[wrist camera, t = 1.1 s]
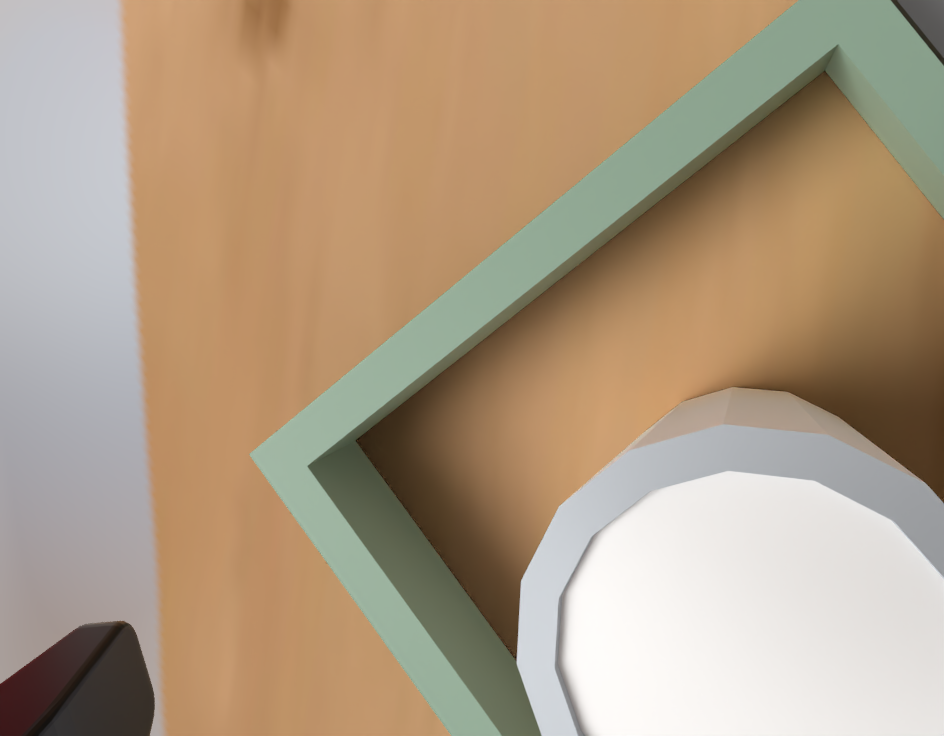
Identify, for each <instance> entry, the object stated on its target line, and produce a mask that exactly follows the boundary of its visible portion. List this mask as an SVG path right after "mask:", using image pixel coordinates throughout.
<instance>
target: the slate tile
mask: <svg viewBox="0 0 944 736" xmlns="http://www.w3.org/2000/svg"><path fill="white" fill-rule="evenodd" d="M891 1H892V3H893V4H894V5H895V6H896V8H897V9H898V10H899V11H900V12H901V14H902V15H903V16H904V17H905V19H906V20H907V21H908V22H909V24H910V25H911V26H912V27H913V29H914V30H915V31H916V32H917V33H918V35H919V36H920V37H921V38H922V40H923V41H924V42H925V43H926V45H927V46H928V47H929V48H930V49H931V51H932V52H933V53H934V54H935V56H936V57H937V58H938V59H939V61H940V62H941V63H942V64H943V66H944V0H891Z"/></svg>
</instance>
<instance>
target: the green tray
mask: <svg viewBox="0 0 944 736" xmlns="http://www.w3.org/2000/svg"><path fill="white" fill-rule="evenodd" d="M824 71H826V73H827V74H828V75H829V76H830V78H831V79H832V80H833V81H834V83H835V84H836V85H837V86H838V88H839V89H840V90H841V91H842V93H843V94H844V95H845V96H846V98H847V99H848V100H849V101H850V103H851V104H852V105H853V106H854V108H855V109H856V110H857V111H858V113H859V114H860V115H861V116H862V118H863V119H864V120H865V121H866V123H867V124H868V125H869V126H870V128H871V129H872V130H873V131H874V133H875V134H876V135H877V136H878V138H879V139H880V140H881V141H882V143H883V144H884V145H885V147H886V148H887V149H888V150H889V152H890V153H891V154H892V155H893V157H894V158H895V159H896V160H897V162H898V163H899V164H900V165H901V167H902V168H903V169H904V170H905V172H906V173H907V174H908V175H909V177H910V178H911V179H912V180H913V182H914V183H915V184H916V185H917V187H918V188H919V189H920V190H921V192H922V193H923V194H924V195H925V197H926V198H927V199H928V200H929V202H930V203H931V204H932V205H933V207H934V208H935V209H936V210H937V212H938V213H939V214H940V215H941V217H942V218H943V219H944V66H943V64H942V63H941V62H940V61H939V59H938V58H937V57H936V56H935V54H934V53H933V52H932V51H931V49H930V48H929V47H928V46H927V45H926V43H925V42H924V41H923V40H922V38H921V37H920V36H919V35H918V33H917V32H916V31H915V30H914V29H913V27H912V26H911V25H910V24H909V22H908V21H907V20H906V19H905V17H904V16H903V15H902V14H901V12H900V11H899V10H898V9H897V8H896V6H895V5H894V4H893V3H892V1H891V0H799V1H797V2H796V3H795V4H794V5H793V6H791V7H790V8H789V9H788V10H786V11H785V12H784V13H783V14H782V15H780V16H779V17H778V18H777V19H776V20H774V21H773V22H772V23H771V24H770V25H768V26H767V27H766V28H765V29H763V30H762V31H761V32H760V33H759V34H757V35H756V36H755V37H754V38H753V39H751V40H750V41H749V42H748V43H747V44H745V45H744V46H743V47H742V48H740V49H739V50H738V51H737V52H736V53H734V54H733V55H732V56H731V57H730V58H728V59H727V60H726V61H725V62H724V63H722V64H721V65H720V66H719V67H717V68H716V69H715V70H714V71H713V72H711V73H710V74H709V75H708V76H707V77H705V78H704V79H703V80H702V81H701V82H699V83H698V84H697V85H696V86H694V87H693V88H692V89H691V90H690V91H688V92H687V93H686V94H685V95H684V96H682V97H681V98H680V99H679V100H678V101H676V102H675V103H674V104H673V105H671V106H670V107H669V108H668V109H667V110H665V111H664V112H663V113H662V114H661V115H659V116H658V117H657V118H656V119H655V120H653V121H652V122H651V123H650V124H648V125H647V126H646V127H645V128H644V129H642V130H641V131H640V132H639V133H638V134H636V135H635V136H634V137H633V138H632V139H630V140H629V141H628V142H627V143H625V144H624V145H623V146H622V147H621V148H619V149H618V150H617V151H616V152H615V153H613V154H612V155H611V156H610V157H609V158H607V159H606V160H605V161H604V162H602V163H601V164H600V165H599V166H598V167H596V168H595V169H594V170H593V171H592V172H590V173H589V174H588V175H587V176H586V177H584V178H583V179H582V180H581V181H579V182H578V183H577V184H576V185H575V186H573V187H572V188H571V189H570V190H569V191H567V192H566V193H565V194H564V195H562V196H561V197H560V198H559V199H558V200H556V201H555V202H554V203H553V204H552V205H550V206H549V207H548V208H547V209H546V210H544V211H543V212H542V213H541V214H539V215H538V216H537V217H536V218H535V219H533V220H532V221H531V222H530V223H529V224H527V225H526V226H525V227H524V228H523V229H521V230H520V231H519V232H518V233H516V234H515V235H514V236H513V237H512V238H510V239H509V240H508V241H507V242H506V243H504V244H503V245H502V246H501V247H500V248H498V249H497V250H496V251H495V252H493V253H492V254H491V255H490V256H489V257H487V258H486V259H485V260H484V261H483V262H481V263H480V264H479V265H478V266H477V267H475V268H474V269H473V270H472V271H470V272H469V273H468V274H467V275H466V276H464V277H463V278H462V279H461V280H460V281H458V282H457V283H456V284H455V285H454V286H452V287H451V288H450V289H449V290H447V291H446V292H445V293H444V294H443V295H441V296H440V297H439V298H438V299H437V300H435V301H434V302H433V303H432V304H431V305H429V306H428V307H427V308H426V309H424V310H423V311H422V312H421V313H420V314H418V315H417V316H416V317H415V318H414V319H412V320H411V321H410V322H409V323H408V324H406V325H405V326H404V327H403V328H401V329H400V330H399V331H398V332H397V333H395V334H394V335H393V336H392V337H391V338H389V339H388V340H387V341H386V342H385V343H383V344H382V345H381V346H380V347H378V348H377V349H376V350H375V351H374V352H372V353H371V354H370V355H369V356H368V357H366V358H365V359H364V360H363V361H362V362H360V363H359V364H358V365H357V366H355V367H354V368H353V369H352V370H351V371H349V372H348V373H347V374H346V375H345V376H343V377H342V378H341V379H340V380H339V381H337V382H336V383H335V384H334V385H332V386H331V387H330V388H329V389H328V390H326V391H325V392H324V393H323V394H322V395H320V396H319V397H318V398H317V399H316V400H314V401H313V402H312V403H311V404H309V405H308V406H307V407H306V408H305V409H303V410H302V411H301V412H300V413H299V414H297V415H296V416H295V417H294V418H292V419H291V420H290V421H289V422H288V423H286V424H285V425H284V426H283V427H282V428H280V429H279V430H278V431H277V432H276V433H274V434H273V435H272V436H271V437H269V438H268V439H267V440H266V441H265V442H263V443H262V444H261V445H260V446H259V447H257V448H256V449H255V450H254V451H253V452H251V453H250V454H249V455H250V456H251V458H252V459H253V461H254V462H255V463H256V465H257V466H258V467H259V469H260V470H261V472H262V473H263V474H264V476H265V477H266V479H267V480H268V481H269V483H270V484H271V486H272V487H273V488H274V490H275V491H276V492H277V494H278V495H279V497H280V498H281V499H282V501H283V502H284V504H285V505H286V506H287V508H288V509H289V511H290V512H291V513H292V515H293V516H294V518H295V519H296V520H297V522H298V523H299V524H300V526H301V527H302V529H303V530H304V531H305V533H306V534H307V536H308V537H309V538H310V540H311V541H312V543H313V544H314V545H315V547H316V548H317V550H318V551H319V552H320V554H321V555H322V556H323V558H324V559H325V561H326V562H327V563H328V565H329V566H330V568H331V569H332V570H333V572H334V573H335V575H336V576H337V577H338V579H339V580H340V581H341V583H342V584H343V586H344V587H345V588H346V590H347V591H348V593H349V594H350V595H351V597H352V598H353V600H354V601H355V602H356V604H357V605H358V607H359V608H360V609H361V611H362V612H363V613H364V615H365V616H366V618H367V619H368V620H369V622H370V623H371V625H372V626H373V627H374V629H375V630H376V632H377V633H378V634H379V636H380V637H381V638H382V640H383V641H384V643H385V644H386V645H387V647H388V648H389V650H390V651H391V652H392V654H393V655H394V657H395V658H396V659H397V661H398V662H399V664H400V665H401V666H402V668H403V669H404V670H405V672H406V673H407V675H408V676H409V677H410V679H411V680H412V682H413V683H414V684H415V686H416V687H417V689H418V690H419V691H420V693H421V694H422V695H423V697H424V698H425V700H426V701H427V702H428V704H429V705H430V707H431V708H432V709H433V711H434V712H435V714H436V715H437V716H438V718H439V719H440V721H441V722H442V723H443V725H444V726H445V727H446V729H447V730H448V732H449V733H450V734H451V736H542V735H541V732H540V730H539V727H538V724H537V721H536V718H535V715H534V712H533V710H532V707H531V704H530V701H529V698H528V695H527V692H526V690H525V687H524V684H523V681H522V678H521V675H520V672H519V670H518V667H517V662H516V660H515V659H514V658H513V656H512V655H511V653H510V652H509V651H508V649H507V648H506V647H505V645H504V644H503V642H502V641H501V640H500V638H499V637H498V636H497V634H496V633H495V631H494V630H493V629H492V627H491V626H490V625H489V623H488V622H487V621H486V619H485V618H484V616H483V615H482V614H481V612H480V611H479V610H478V608H477V607H476V605H475V604H474V603H473V601H472V600H471V599H470V597H469V596H468V594H467V593H466V592H465V590H464V589H463V588H462V586H461V585H460V584H459V582H458V581H457V579H456V578H455V577H454V575H453V574H452V573H451V571H450V570H449V568H448V567H447V566H446V564H445V563H444V562H443V560H442V559H441V557H440V556H439V555H438V553H437V552H436V551H435V549H434V548H433V547H432V545H431V544H430V542H429V541H428V540H427V538H426V537H425V536H424V534H423V533H422V531H421V530H420V529H419V527H418V526H417V525H416V523H415V522H414V520H413V519H412V518H411V516H410V515H409V514H408V512H407V511H406V509H405V508H404V507H403V505H402V504H401V503H400V501H399V500H398V499H397V497H396V496H395V494H394V493H393V492H392V490H391V489H390V488H389V486H388V485H387V483H386V482H385V481H384V479H383V478H382V477H381V475H380V474H379V472H378V471H377V470H376V468H375V467H374V466H373V464H372V463H371V462H370V460H369V459H368V457H367V456H366V455H365V453H364V452H363V451H362V449H361V448H360V446H359V445H358V444H357V442H356V440H357V439H358V438H359V437H361V436H362V435H363V434H364V433H366V432H367V431H368V430H370V429H371V428H372V427H373V426H375V425H376V424H377V423H378V422H380V421H381V420H382V419H384V418H385V417H386V416H387V415H389V414H390V413H391V412H392V411H394V410H395V409H396V408H397V407H399V406H400V405H401V404H403V403H404V402H405V401H406V400H408V399H409V398H410V397H411V396H413V395H414V394H415V393H416V392H418V391H419V390H420V389H422V388H423V387H424V386H425V385H427V384H428V383H429V382H430V381H432V380H433V379H434V378H436V377H437V376H438V375H439V374H441V373H442V372H443V371H444V370H446V369H447V368H448V367H449V366H451V365H452V364H453V363H455V362H456V361H457V360H458V359H460V358H461V357H462V356H463V355H465V354H466V353H467V352H469V351H470V350H471V349H472V348H474V347H475V346H476V345H477V344H479V343H480V342H481V341H482V340H484V339H485V338H486V337H488V336H489V335H490V334H491V333H493V332H494V331H495V330H496V329H498V328H499V327H500V326H502V325H503V324H504V323H505V322H507V321H508V320H509V319H510V318H512V317H513V316H514V315H515V314H517V313H518V312H519V311H521V310H522V309H523V308H524V307H526V306H527V305H528V304H529V303H531V302H532V301H533V300H535V299H536V298H537V297H538V296H540V295H541V294H542V293H543V292H545V291H546V290H547V289H548V288H550V287H551V286H552V285H554V284H555V283H556V282H557V281H559V280H560V279H561V278H562V277H564V276H565V275H566V274H567V273H569V272H570V271H571V270H573V269H574V268H575V267H576V266H578V265H579V264H580V263H581V262H583V261H584V260H585V259H587V258H588V257H589V256H590V255H592V254H593V253H594V252H595V251H597V250H598V249H599V248H600V247H602V246H603V245H604V244H606V243H607V242H608V241H609V240H611V239H612V238H613V237H614V236H616V235H617V234H618V233H620V232H621V231H622V230H623V229H625V228H626V227H627V226H628V225H630V224H631V223H632V222H633V221H635V220H636V219H637V218H639V217H640V216H641V215H642V214H644V213H645V212H646V211H647V210H649V209H650V208H651V207H653V206H654V205H655V204H656V203H658V202H659V201H660V200H661V199H663V198H664V197H665V196H666V195H668V194H669V193H670V192H672V191H673V190H674V189H675V188H677V187H678V186H679V185H680V184H682V183H683V182H684V181H686V180H687V179H688V178H689V177H691V176H692V175H693V174H694V173H696V172H697V171H698V170H699V169H701V168H702V167H703V166H705V165H706V164H707V163H708V162H710V161H711V160H712V159H713V158H715V157H716V156H717V155H719V154H720V153H721V152H722V151H724V150H725V149H726V148H727V147H729V146H730V145H731V144H732V143H734V142H735V141H736V140H738V139H739V138H740V137H741V136H743V135H744V134H745V133H746V132H748V131H749V130H750V129H751V128H753V127H754V126H755V125H757V124H758V123H759V122H760V121H762V120H763V119H764V118H765V117H767V116H768V115H769V114H771V113H772V112H773V111H774V110H776V109H777V108H778V107H779V106H781V105H782V104H783V103H784V102H786V101H787V100H788V99H790V98H791V97H792V96H793V95H795V94H796V93H797V92H798V91H800V90H801V89H802V88H804V87H805V86H806V85H807V84H809V83H810V82H811V81H812V80H814V79H815V78H816V77H817V76H819V75H820V74H821V73H823V72H824Z"/></svg>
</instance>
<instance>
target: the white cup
mask: <svg viewBox="0 0 944 736" xmlns="http://www.w3.org/2000/svg"><path fill="white" fill-rule="evenodd" d="M517 667H518V670H519V672H520V675H521V678H522V681H523V684H524V687H525V690H526V692H527V695H528V698H529V701H530V704H531V707H532V710H533V712H534V715H535V718H536V721H537V724H538V727H539V730H540V732H541V735H542V736H944V503H943V502H942V501H941V500H940V499H939V497H938V496H937V495H936V494H935V493H934V492H933V491H932V490H931V488H930V487H929V486H928V485H927V484H926V483H925V482H923V481H922V480H921V479H919V478H918V477H917V476H915V475H914V474H913V473H911V472H910V471H909V470H908V469H906V468H905V467H904V466H902V465H901V464H900V463H898V462H897V461H896V460H894V459H893V458H892V457H890V456H889V455H888V454H887V453H885V452H884V451H883V450H881V449H880V448H879V447H877V446H876V445H875V444H873V443H872V442H871V441H869V440H868V439H867V438H865V437H864V436H863V435H862V434H860V433H859V432H858V431H856V430H855V429H854V428H852V427H851V426H850V425H848V424H847V423H846V422H844V421H843V420H842V419H840V418H839V417H838V416H836V415H834V414H832V413H830V412H828V411H826V410H824V409H822V408H820V407H818V406H816V405H813V404H811V403H809V402H807V401H805V400H803V399H801V398H799V397H797V396H795V395H793V394H791V393H789V392H784V391H773V390H762V389H750V388H739V387H731V388H727V389H724V390H721V391H717V392H714V393H710V394H707V395H704V396H700V397H697V398H693V399H690V400H686V401H683V402H681V403H680V404H679V405H677V406H676V407H675V408H674V409H672V410H671V411H670V412H669V413H667V414H666V415H665V416H664V417H662V418H661V419H660V420H659V421H657V422H656V423H655V424H654V425H652V426H651V427H650V428H649V429H647V430H646V431H645V432H644V433H642V434H641V435H640V436H639V437H638V438H637V439H636V440H634V441H633V442H632V443H631V444H630V445H629V446H628V447H626V448H625V449H624V450H623V451H622V452H621V453H620V454H618V455H617V456H616V457H615V458H614V459H613V460H612V461H610V462H609V463H608V464H607V465H606V466H605V467H604V468H602V469H601V470H600V471H599V472H598V473H597V474H596V475H594V476H593V477H592V478H591V479H590V480H589V481H587V482H586V483H585V484H584V485H583V486H582V487H581V488H579V489H578V490H577V491H576V492H575V493H574V494H573V495H571V496H570V497H569V498H568V499H567V500H566V501H565V502H563V503H562V504H561V505H560V506H559V508H558V510H557V512H556V514H555V516H554V518H553V519H552V521H551V523H550V525H549V527H548V529H547V531H546V533H545V535H544V537H543V539H542V541H541V543H540V545H539V547H538V549H537V551H536V553H535V555H534V556H533V558H532V560H531V562H530V564H529V566H528V568H527V570H526V572H525V574H524V576H523V578H522V580H521V590H520V609H519V628H518V647H517Z"/></svg>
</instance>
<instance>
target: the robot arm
mask: <svg viewBox="0 0 944 736" xmlns="http://www.w3.org/2000/svg"><path fill="white" fill-rule="evenodd" d="M154 702H155V701H154V692H153V688H152V684H151V681H150V678H149V674H148V671H147V668H146V664H145V661H144V658H143V655H142V651H141V648H140V644H139V641H138V638H137V635H136V632H135V630H134V629H133V627H132V626H131V625H130V624H129V623H126V622H124V621H114V622H101V623H90V624H84V625H82V626H79V627H78V628H77V629H75V630H73V631H72V632H71V633H69V634H68V635H67V636H65V637H64V638H63V639H61V640H60V641H58V642H57V643H56V644H54V645H53V646H52V647H50V648H49V649H47V650H46V651H45V652H43V653H42V654H41V655H39V656H38V657H36V658H35V659H34V660H32V661H31V662H30V663H29V664H27V665H26V666H24V667H23V668H21V669H20V670H19V671H17V672H16V673H15V674H13V675H12V676H11V677H9V678H8V679H6V680H5V681H4V682H2V683H1V684H0V736H150V731H151V727H152V723H153V717H154V709H155V703H154Z"/></svg>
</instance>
